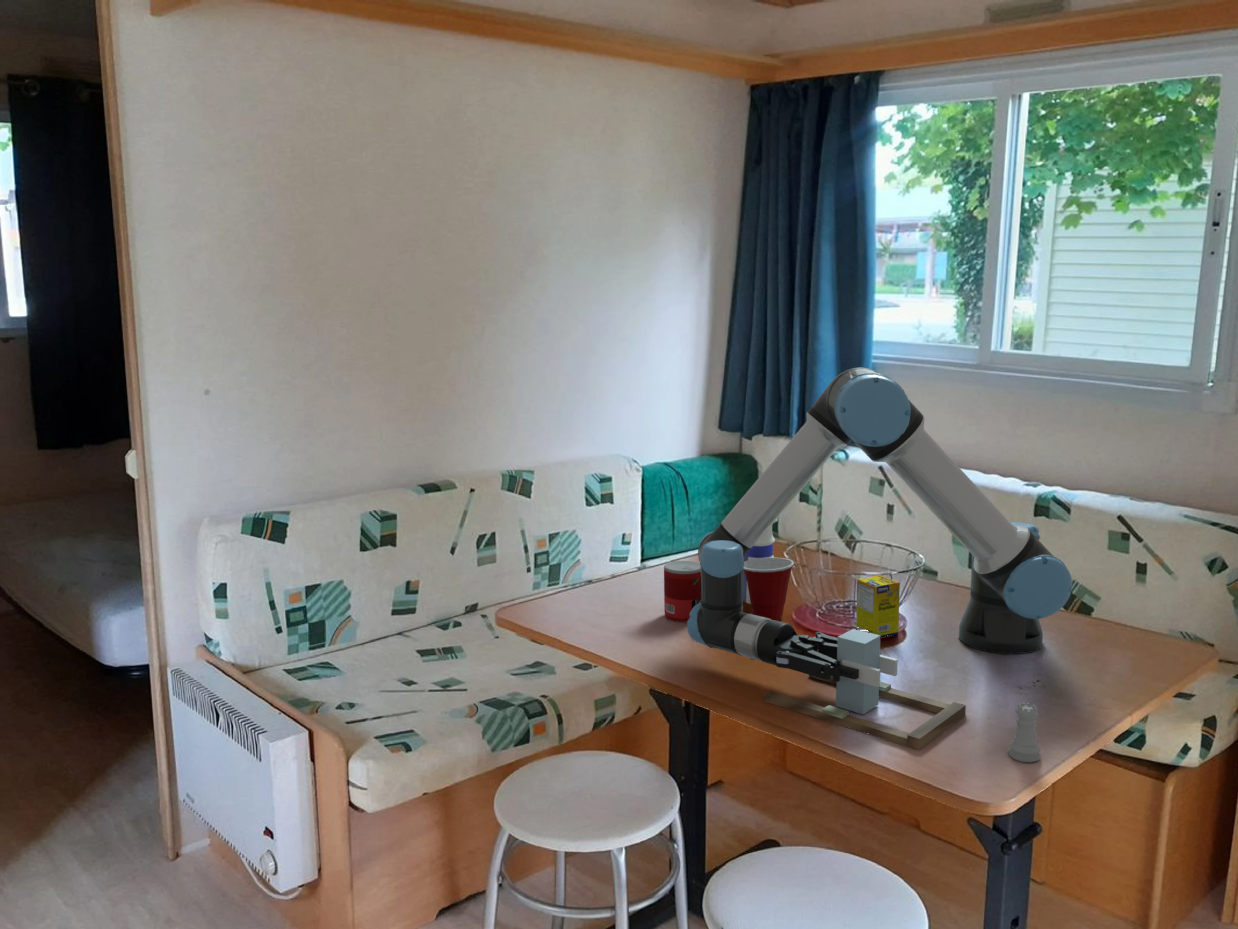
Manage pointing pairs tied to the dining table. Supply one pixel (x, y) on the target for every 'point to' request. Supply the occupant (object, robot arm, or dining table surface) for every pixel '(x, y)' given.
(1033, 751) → the rook chess piece
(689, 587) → the canned food
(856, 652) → the blue-grey tall rectangular block
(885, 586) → the supplement box
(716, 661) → the dining table surface
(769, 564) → the plastic cup
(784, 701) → the brown u-shaped frame
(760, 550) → the water bottle
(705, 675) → the dining table surface
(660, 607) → the dining table surface
